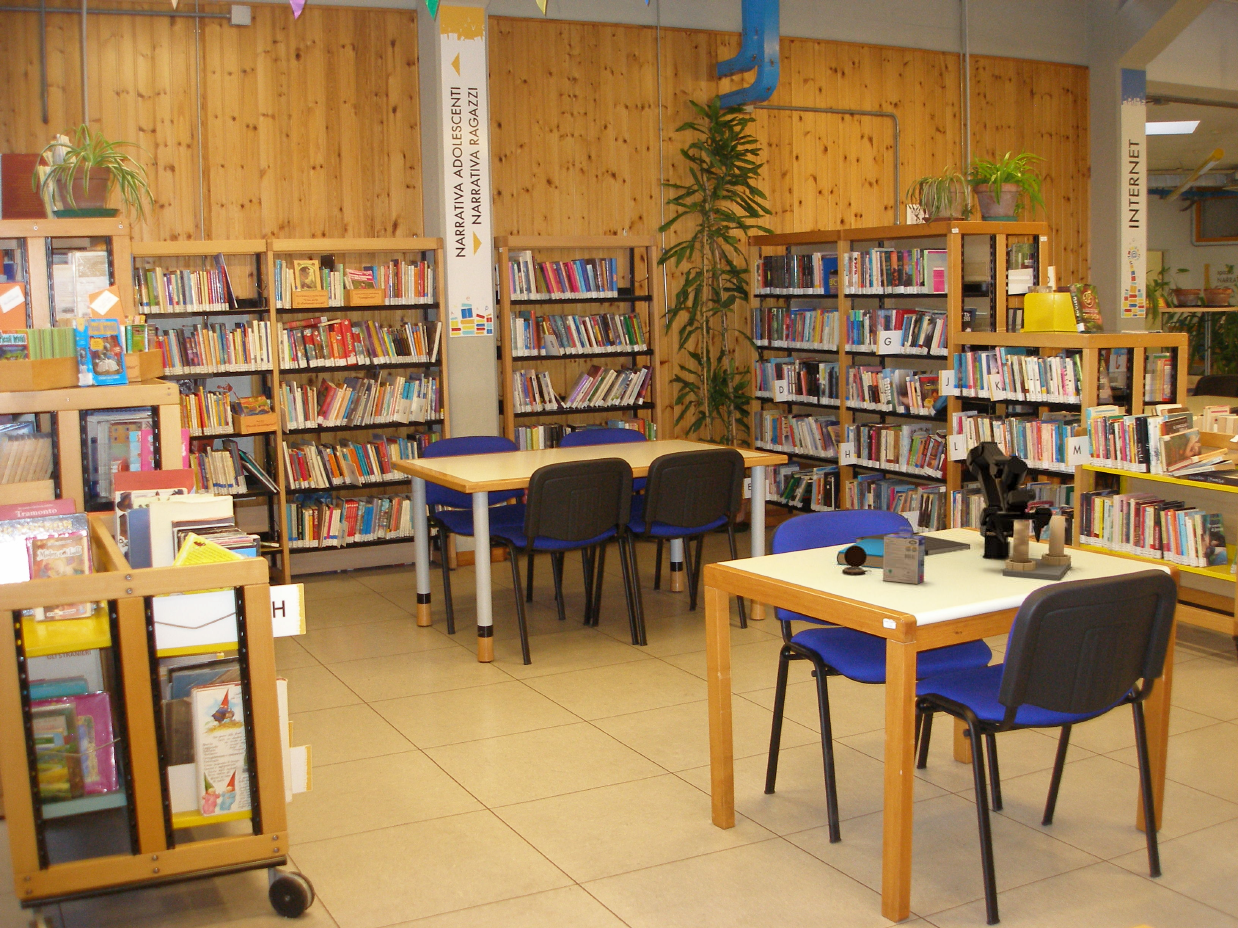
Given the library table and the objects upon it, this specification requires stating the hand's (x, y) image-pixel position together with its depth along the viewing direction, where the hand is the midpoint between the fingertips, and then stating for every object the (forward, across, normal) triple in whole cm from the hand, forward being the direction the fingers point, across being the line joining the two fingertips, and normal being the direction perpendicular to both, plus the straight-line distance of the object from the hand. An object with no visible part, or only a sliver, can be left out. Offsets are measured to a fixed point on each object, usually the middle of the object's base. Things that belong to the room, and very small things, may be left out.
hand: (1021, 541), depth 321 cm
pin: (+5, 0, +5) cm, 7 cm away
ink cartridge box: (+13, -34, 0) cm, 36 cm away
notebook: (-23, -21, +38) cm, 49 cm away
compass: (+6, -44, +8) cm, 45 cm away
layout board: (+4, +6, +9) cm, 11 cm away
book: (-8, -35, +21) cm, 42 cm away
